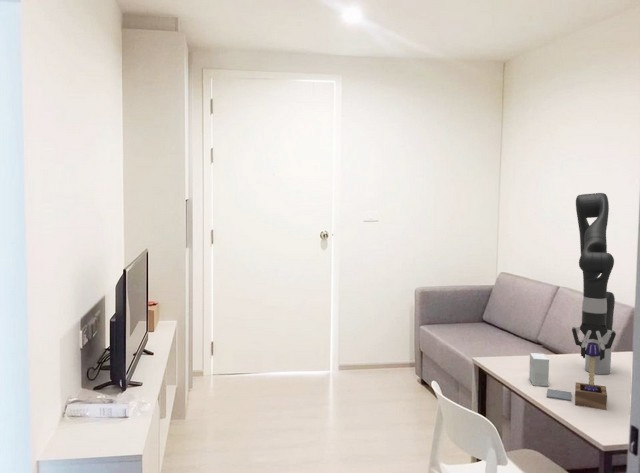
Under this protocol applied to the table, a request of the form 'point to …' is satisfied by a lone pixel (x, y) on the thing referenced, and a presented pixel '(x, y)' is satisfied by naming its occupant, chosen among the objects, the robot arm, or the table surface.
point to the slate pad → (559, 394)
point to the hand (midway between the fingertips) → (592, 358)
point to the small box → (539, 369)
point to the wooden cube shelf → (590, 397)
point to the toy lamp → (592, 365)
